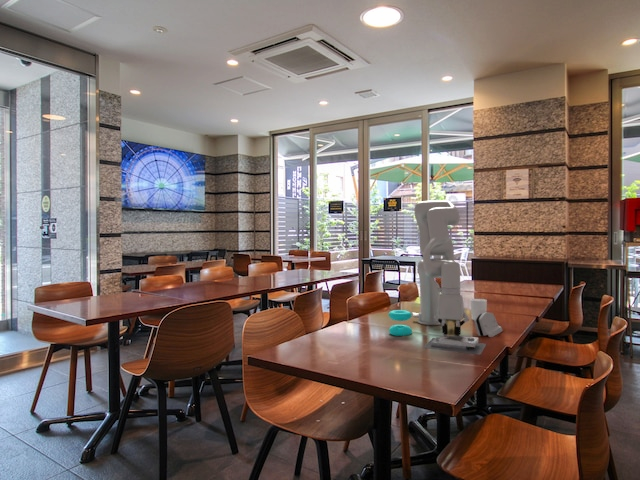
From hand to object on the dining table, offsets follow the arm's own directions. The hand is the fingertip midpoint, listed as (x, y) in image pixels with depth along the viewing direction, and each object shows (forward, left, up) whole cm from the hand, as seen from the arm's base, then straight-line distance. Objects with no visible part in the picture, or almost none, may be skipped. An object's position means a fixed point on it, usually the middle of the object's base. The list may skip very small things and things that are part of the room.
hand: (451, 335), depth 169 cm
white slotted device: (+12, +17, -2) cm, 21 cm away
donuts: (-22, 0, -2) cm, 22 cm away
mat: (+4, -11, -2) cm, 12 cm away
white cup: (+4, +45, -2) cm, 45 cm away
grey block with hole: (+4, -11, -1) cm, 12 cm away
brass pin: (0, 0, -2) cm, 2 cm away
